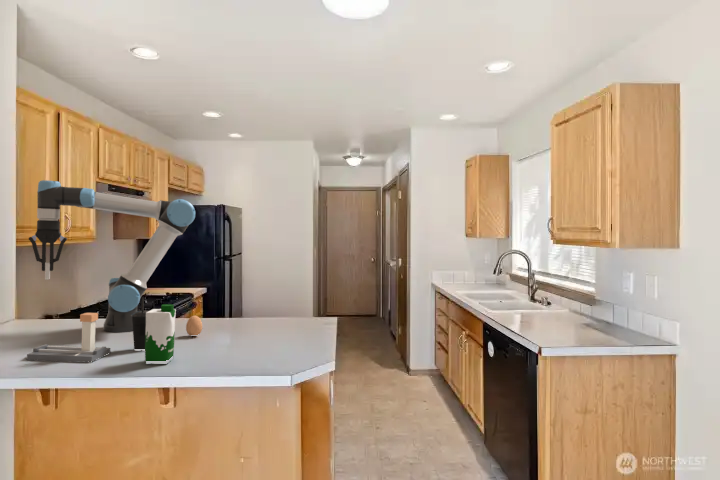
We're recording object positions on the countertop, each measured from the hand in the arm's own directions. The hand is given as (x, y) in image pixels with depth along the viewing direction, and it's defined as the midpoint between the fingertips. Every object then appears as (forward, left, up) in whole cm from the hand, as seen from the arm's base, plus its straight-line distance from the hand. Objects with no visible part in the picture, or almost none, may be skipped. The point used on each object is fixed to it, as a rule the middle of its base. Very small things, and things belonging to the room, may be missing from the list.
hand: (47, 279), depth 186 cm
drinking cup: (-32, +29, -25) cm, 50 cm away
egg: (-54, +14, -25) cm, 61 cm away
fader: (-15, +33, -22) cm, 42 cm away
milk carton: (-36, +48, -25) cm, 65 cm away
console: (-9, +30, -24) cm, 40 cm away
